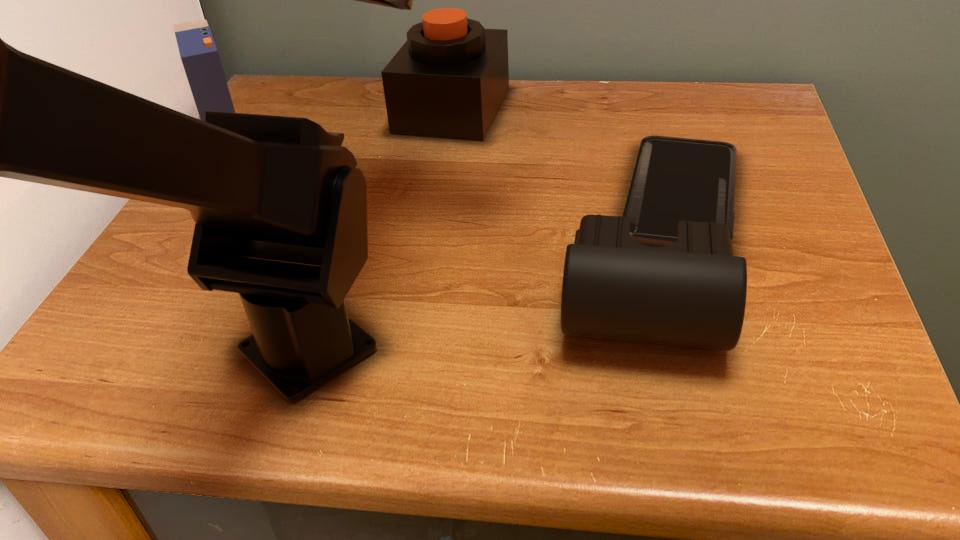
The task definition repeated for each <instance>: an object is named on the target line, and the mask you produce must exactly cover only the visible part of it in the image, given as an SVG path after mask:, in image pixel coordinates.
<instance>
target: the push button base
mask: <svg viewBox="0 0 960 540" xmlns="http://www.w3.org/2000/svg"><path fill="white" fill-rule="evenodd" d="M467 27H468V34H467V35H466V36H463V37H461V38H458V39H452V40H431V39H428V38H425V37H424V31H423V21H420V22H417V23H415V24H413V25H412V26H411V27H410V28H409V29H408V30H407V31H406V41H405V42H404V43H403V45H402V46H401V47H400V48H399V49H398V51H396V53H395V54H394V56H393V57H392V58H391V59H390V60H389V62H388V63H387V64H386V65H385V66H384V67H383V69H382V70H381V71H380V75H381V80H382V81H381V82H382V87H383V95H384V103H385V109H386V115H387V124H388V129H389V135H392V136H393V135H394V136H395V135H396V136H404V137H405V136H407V137H417V138H418V137H419V138H433V139H446V140H460V141H470V142H471V141H472V142H485V140H486V138H487V135H488V134H489V132H490V129H491V128H492V125H493V123H494V121H495V119H496V117H497V115H498V113H499V111H500V109H501V107H502V105H503V103H504V101H505V98H506V97H507V94H508V92H509V90H510V76H509V75H510V74H509V73H510V71H509V69H510V68H509V40H508V33H509V31H508V29H503V28H502V29H500V28H485V26H484V25H483V24H482V23H481V22H480V21H478V20H475V19H473V18H468V17H467Z"/></svg>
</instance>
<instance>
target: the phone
mask: <svg viewBox="0 0 960 540" xmlns="http://www.w3.org/2000/svg"><path fill="white" fill-rule="evenodd" d="M737 150H738V149H737V147H736V146H735V145H734V144H732V143H730V142H726V141H719V140H710V139H709V140H707V139H697V138H687V137H675V136H668V135H667V136H666V135H653V134H652V135H648V136H645V137H643V138H642V139H641V141H640V144H639V149H638V153H637V157H636V159H635V165H634V169H633V173H632V176H631V180H630V185H629V188H628V193H627V197H626V200H625V206H624V208H623V213H622V216H623V217H630V235H631V237H632V238H633V239H634V240H635V241H636V242H638V243H640V244H642V245H645V246H649V247H665V246H669V245H671V244H673V243H675V242H676V241H677V240H678V222H679V221H694V222H708V223H709V222H713V223H721V224H724V225H726V226H727V227H728V228H729V233H730V241H731V242H732V241H733V238H734V232H733V231H734V224H735V211H734V210H735V193H736V191H735V190H736V172H737V171H736V169H737V153H738V151H737ZM732 243H733V242H732Z"/></svg>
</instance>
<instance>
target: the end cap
mask: <svg viewBox="0 0 960 540" xmlns="http://www.w3.org/2000/svg"><path fill="white" fill-rule="evenodd" d="M574 235H575V236H574V243H569V244H568V245H567V246H566V249H565V255H564V264H563V273H562V285H561V300H560V331H561V333H562V334H563V335H566V336H575V337H584V338H586V337H587V338H593V339H606V340H616V341H626V342H634V343H636V342H637V343H645V344H654V345H655V344H656V345H666V346H675V347H676V346H677V347H686V348H696V349H705V350H707V349H708V350H717V351H726V352H727V351H729V352H730V351H732V350H734V349H736V347H737V345H738V343H739V341H740V338H741V335H742V330H743V325H744V319H745V313H746V304H747V291H748V290H747V289H748V267H747V266H748V265H747V259H746V257H744V256H737V255H734V249H733V242H731V241H730V233H729V228H728V227H727V226H726V225H724V224H721V223H713V222H709V223H708V222H694V221H679V222H678V240H677V241H676V242H675V243H673V244H671V245H669V246H665V247H649V246H645V245H642V244H640V243H638V242H636V241H635V240H634V239H633V238H632V237H631V235H630V217H623V215H618V216H617V215H606V214H604V215H603V214H599V213H598V214H586V215H585V214H584V216H582V217H581V218H580V223H579V228H578V229H576V231H575V234H574Z"/></svg>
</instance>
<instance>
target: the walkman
mask: <svg viewBox="0 0 960 540" xmlns="http://www.w3.org/2000/svg"><path fill="white" fill-rule="evenodd" d="M172 26H173V30H174V35H175V39H176V44H177V48H178V51H179V56H180V60H181V63H182V66H183V69H184V73H185V75H186V79H187V83H188V85H189V88H190V91H191V94H192V97H193V100H194V103H195V106H196V111H197V113H198V116H199V120H202V121H205V112H206V111H219V112H232V113H236V109H235V107H234V102H233V99H232V96H231V92H230V88H229V85H228V81H227V77H226V74H225V72H224V68H223V64H222V60H221V57H220V53H219V50H218V47H217V45H216V42H215V38H214V37H213V33H212V30H211V27H210V26H209V23H208V21H207V19H201V20H196V21H185V22H180V23H174V24H173V25H172Z"/></svg>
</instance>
